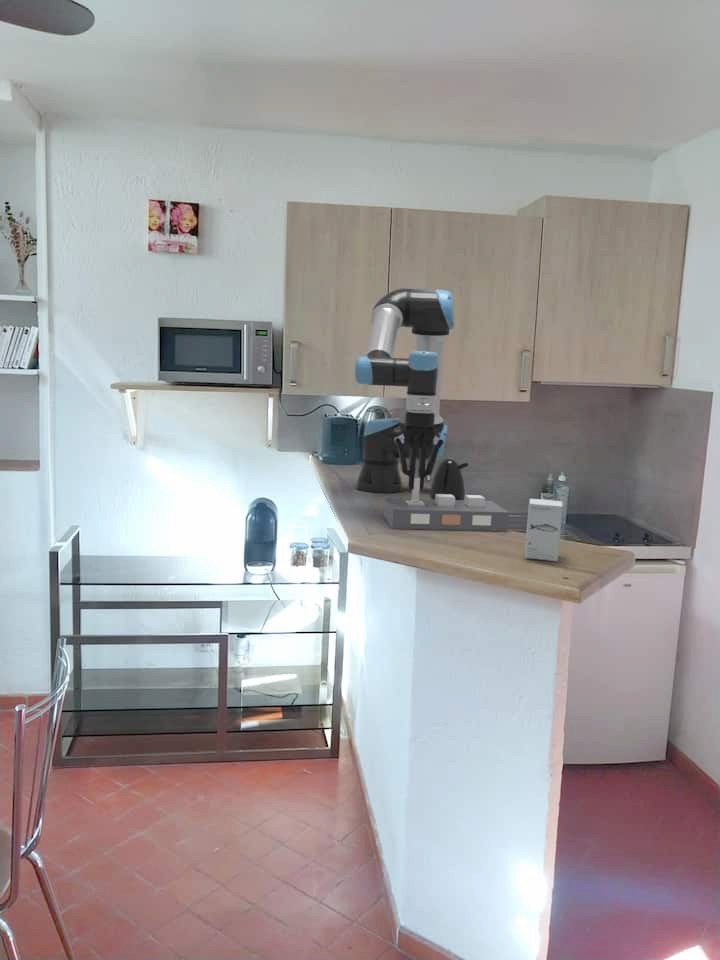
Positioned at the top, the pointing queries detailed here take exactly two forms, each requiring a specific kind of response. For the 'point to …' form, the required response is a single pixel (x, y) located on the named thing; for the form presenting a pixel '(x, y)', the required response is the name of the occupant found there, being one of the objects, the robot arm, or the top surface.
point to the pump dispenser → (449, 480)
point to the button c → (474, 501)
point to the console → (444, 516)
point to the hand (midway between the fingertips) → (415, 501)
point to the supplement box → (543, 529)
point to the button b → (444, 500)
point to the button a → (414, 503)
